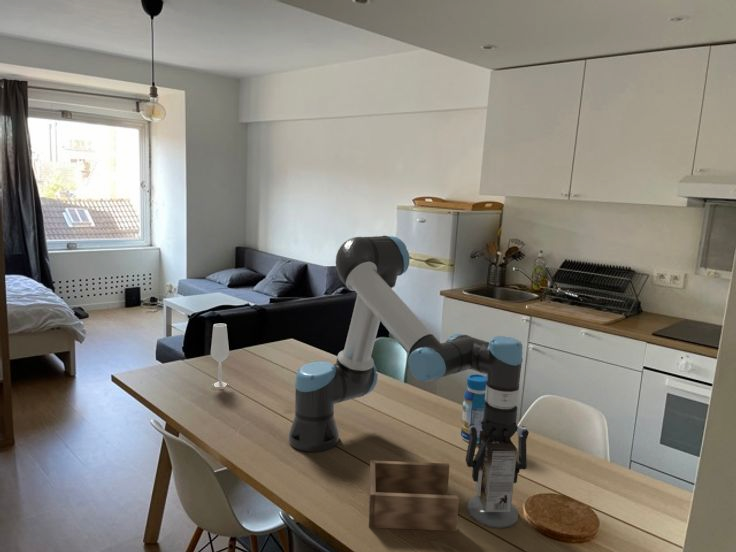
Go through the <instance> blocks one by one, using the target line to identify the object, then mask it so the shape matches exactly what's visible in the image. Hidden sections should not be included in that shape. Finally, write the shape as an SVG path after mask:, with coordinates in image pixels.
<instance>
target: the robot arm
mask: <svg viewBox="0 0 736 552" xmlns="http://www.w3.org/2000/svg"><path fill="white" fill-rule="evenodd" d="M409 266H410V253H409V250H408V248H407V246H406V244H405V242H404V241H403V240H402V239H400V238H399V237H397V236H393V235H391V236H389V235H381V236H380V235H379V236H378V235H375V236H356V237H351V238H348V239H347V240H345V242H343V243H342V244H341V245H340V247H339V248H338V250H337V252H336V256H335V268H336V272H337V274H338V275H337V276H338V277H339V279H340V280H341V282H342V283H343V284H344V286H345V287H346V288H347V289H348V290H349V291H351V292H355V293H356V298H355V302H354V308H353V310H352V311H353V312H352V316H351V319H350V320H351V321H350V324H349V329H348V332H347V337H346V341H345V344H344V349H343V350H341V351H339V352H338V354H337V356H336V357H337V358H336V362H335V364H333V363H332V362H329V361H326V360H325V361H324V360H320V361H312V362H309V363H306V364H303V365H302V366H300V367H299V368H298V370H297V372H296V376H295V382H294V385H295V386H294V387H295V398H294V399H295V402H294V403H295V405H294V410H295V411H294V418H293V421H292V423H291V426H290V429H289V431H288V443H289V445H290V446H291V447H292V448H294V449H296V450H299V451H302V452H309V453H317V452H324V451H328V450H330V449H333V448H334V447H335V446H337V445H338V443H339V438H340V437H339V434H340V433H339V429H338V425H337V423H336V419H335V415H334V413H335V405H336V404H339V403H342V402H347V401H349V400H353V399H357V398H361V397H362V398H363V397H364V396H366V395H368V394H370V393H371V392H373V390H375V387H376V385H377V383H378V375H379V374H378V373H377V370H378V369H377V365H375V362H374V359H373V357H372V354H373V349H374V346H375V342H376V338H377V336H378V335H377V334H378V330H379V328H380V327H379V326H380V323H381V324H382V325H383V327H385V329H386V330H387V331H388V332H389V333H390V335H392V337H393V338H394V339H395V340H396V342H397V343H398V344H399V345H400V346H401V348H402V349H403V350H404V352H406V354H407V355H408V356H409V357H408V361H407V363H408V368H409V369H410V373H411V375H412V377H414V378H415V379H416V380H418V381H420V382H429V381H437V380H439V379H441V378H444V377H446V376H450V375H453V374H457V373H460V372H465V371H467V370H472V371H475V372H478V373H480V374H482V375H483V374H484V375H486V377H487V380H486V393H485V400H486V402H485V404H484V416H483V421H482V422H481V424H479V425H474V424H470V425H469V427H470V439H469V442H468V445H467V450H466V455H465V462H466V466H467V467H468V468H472V472H471V473H472V474H471V476H472V480H473V482H475V487H474V490H475V493H476V496H480V495H481V483H482V472H483V471H482V468H481V464H482V462H483V460H484V458H485V448H486V444H487V443H484V442H483V441H482V444H481V446H480V448H479V447H478V449H477V452H476V448H477V445H478V443H477V435H479V434H480V431H481V430H483V431H484V433H485V436H487V437H488V440H487V442H493V441H504V442H506V443H510V444H512V443H513V442H512V443H511V441H512V440H511V438H512V437H513V436H514V435H515V433H516V434H517V436H518V437H517V439H518V440H517V441H518V442H517V444H518V447H517V451H518V460H516V465H515V475H514V484H517V482H518V474H519V473H520V472H521V470H522V471H523V470H526V469H527V439H528V437H529V433H530V432H529V430H528V429H527V427H526V426H525V425H522V426H520V425H517V416H518V406H517V405H518V404H519V395H520V382H521V371H522V364H523V362H524V361H523V344H522V342H521V341H520V340H519V339H516V338H514V337H512V336H511V337H508V336H501V335H500V336H499V335H498V336H494V337H491V338H490V340H489V341H486V340H483V339H480V338H476V337H472V336H471V335H468V334H463V333H462V334H461V333H453V334H451V335H450V337H448V338H447V339H446V341H445V342H440V341H439V339H437V338H436V336H435V335H434V334H433V333H432V332H431V330H430V329H429V328H428V327H427V326H426V325H425V324H424V323H423V322H422V320H420V319H419V317H418V316H417V315H416V314H415V313H414V312H413V310H412V309H411V308H410V307H409V306H408V305H407V304H406V303H405V302H404V301H403V300H402V299H401V297H400V296H399V295H398V294H397V293H396V292H395V290H393V288H394V287H395V286H396V282H397V279H398V276H402V275H404V274H405V273H406V272H407V271H408V268H409ZM475 453H476V454H475Z"/></svg>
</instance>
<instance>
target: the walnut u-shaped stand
mask: <svg viewBox="0 0 736 552" xmlns="http://www.w3.org/2000/svg"><path fill="white" fill-rule="evenodd" d="M369 462H370V465H369V467H370V468H369V481H368V482H369V485H368V487H369V488H368V528H382V529H398V530H399V529H402V530H403V529H404V530H424V531H425V530H426V531H428V530H429V531H445V532H446V531H447V532H448V531H449V532H451V531H452V532H453V531H454V532H456V531H457V526H458V516H459V514H458V512H459V502H460V499H459V495H448V493H449V491H448V489H449V481H450V480H449V478H450V477H449V476H450V463H442V462H441V463H438V462H416V461H414V462H413V461H394V460H373V459H372V460H369Z"/></svg>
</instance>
